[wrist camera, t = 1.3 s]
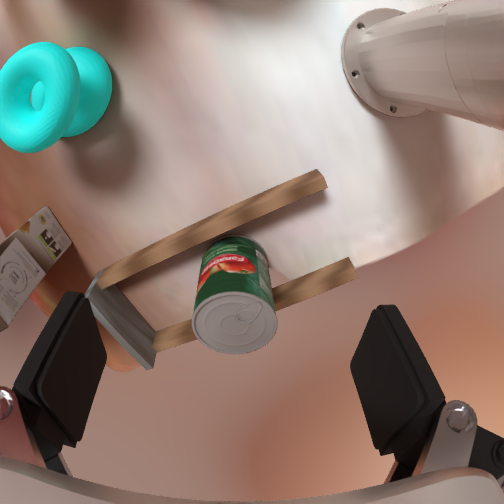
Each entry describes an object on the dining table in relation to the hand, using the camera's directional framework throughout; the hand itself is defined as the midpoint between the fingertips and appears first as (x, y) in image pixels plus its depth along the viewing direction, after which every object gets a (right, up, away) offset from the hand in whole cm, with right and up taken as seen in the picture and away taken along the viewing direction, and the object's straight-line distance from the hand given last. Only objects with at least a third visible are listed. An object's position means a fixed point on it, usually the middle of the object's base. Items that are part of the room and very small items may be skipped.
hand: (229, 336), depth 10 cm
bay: (-3, +1, +28) cm, 28 cm away
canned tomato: (-1, +1, +28) cm, 28 cm away
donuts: (-18, +20, +16) cm, 32 cm away
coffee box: (-28, +5, +25) cm, 37 cm away
